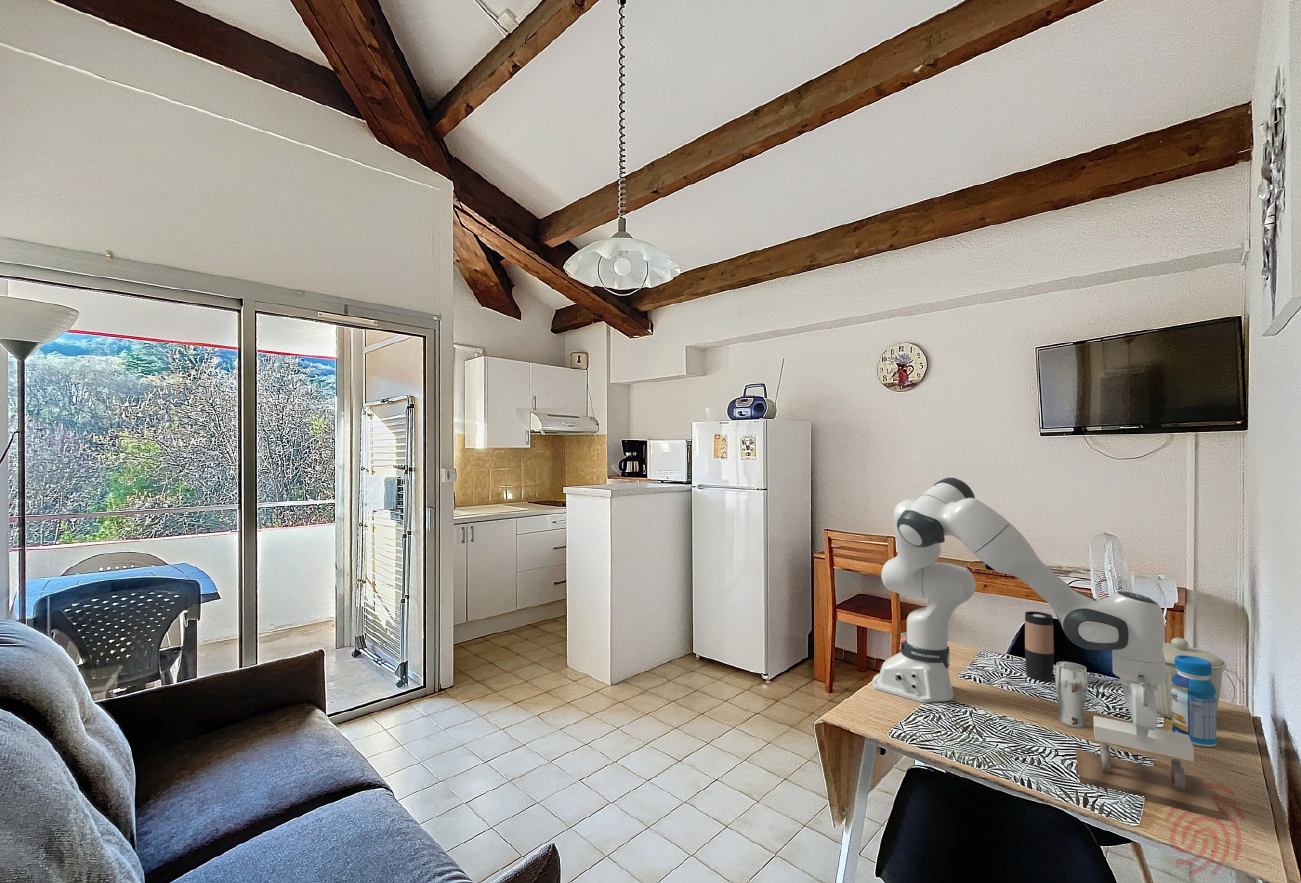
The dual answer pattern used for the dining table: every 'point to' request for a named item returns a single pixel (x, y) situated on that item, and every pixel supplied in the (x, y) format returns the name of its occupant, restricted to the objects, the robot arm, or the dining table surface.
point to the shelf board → (1157, 742)
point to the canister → (1170, 652)
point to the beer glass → (1071, 693)
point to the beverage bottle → (1194, 700)
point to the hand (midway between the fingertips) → (1139, 733)
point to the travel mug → (1039, 645)
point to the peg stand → (1147, 781)
